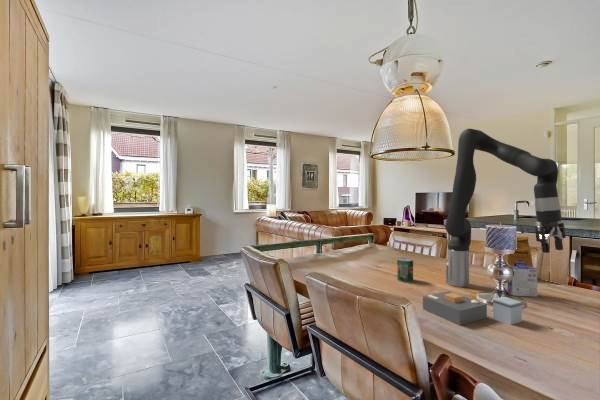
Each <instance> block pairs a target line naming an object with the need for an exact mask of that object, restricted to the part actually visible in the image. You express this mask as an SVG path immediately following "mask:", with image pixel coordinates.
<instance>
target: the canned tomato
mask: <svg viewBox="0 0 600 400" xmlns="http://www.w3.org/2000/svg"><path fill="white" fill-rule="evenodd" d="M396 259H397V264H396V265H397V266H396V267H397V268H396V269H397V273H396V274H397V275H396V277H397V281H398V282H402V283H412V282H414V259H413V258H410V257H398V258H396Z"/></svg>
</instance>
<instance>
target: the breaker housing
mask: <svg viewBox="0 0 600 400" xmlns="http://www.w3.org/2000/svg"><path fill="white" fill-rule="evenodd" d="M449 293H453V292H452V291H443V292H438V293H432V294H428V295H423V296H422V310H424V311H427V312H429V313H431V314H433V315H436V316H438V317H440V318H443V319H444V320H447V321H449V322H451V323H454V324H456V325H458V326H462V325H463V326H464V325H466V324H470V323H473V322H476V321H477V320H478V321H481V320H485V319H487V318H488V314H487V313H488V312H487V311H488V305H487V303H484V302H481V301H479V300H477V299H473V298H469V297H467V296H463V295H462V296H463V302H459V303H452V302H450V301H447V300H444V294H449Z"/></svg>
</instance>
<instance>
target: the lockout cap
mask: <svg viewBox="0 0 600 400" xmlns="http://www.w3.org/2000/svg"><path fill="white" fill-rule="evenodd" d="M492 304H493V305H492V312H493V313H492V315H493V316H492V317H493V319H494V320H497V321H499V322H503V323H505V324H508V325H510V326H512V325H514V324H518V323H521V322H523V321H522V318H523V317H522V314H523V313H522V311H523V310H522V308H523V307H522V306H523V302H522V301H520V300H516V299H514V298H510V297H506V296H501V297H497V298H496V297H495V298H493V299H492Z"/></svg>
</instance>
